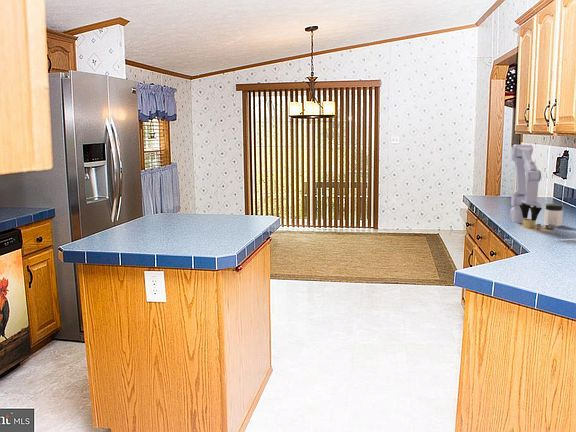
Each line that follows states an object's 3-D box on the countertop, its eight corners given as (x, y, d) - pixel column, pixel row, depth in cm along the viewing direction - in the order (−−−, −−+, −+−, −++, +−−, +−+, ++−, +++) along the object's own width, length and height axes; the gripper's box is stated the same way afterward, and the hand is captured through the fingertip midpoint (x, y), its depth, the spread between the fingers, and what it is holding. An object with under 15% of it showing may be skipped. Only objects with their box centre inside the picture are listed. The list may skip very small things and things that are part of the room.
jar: (542, 227, 289) (544, 205, 287) (543, 224, 296) (545, 203, 294) (561, 228, 285) (563, 206, 283) (561, 226, 292) (564, 204, 290)
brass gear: (521, 226, 285) (522, 219, 284) (530, 226, 286) (530, 218, 285) (527, 228, 280) (527, 220, 279) (535, 228, 281) (536, 220, 280)
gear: (542, 228, 279) (543, 222, 279) (551, 228, 280) (551, 222, 279) (548, 230, 274) (549, 224, 274) (557, 230, 275) (557, 224, 275)
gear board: (517, 227, 287) (518, 220, 287) (539, 226, 289) (540, 219, 289) (536, 233, 272) (536, 225, 271) (559, 232, 274) (560, 225, 273)
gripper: (516, 191, 286) (514, 217, 288) (533, 195, 272) (530, 221, 274) (528, 191, 287) (526, 216, 290) (545, 195, 273) (543, 221, 275)
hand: (529, 219), depth 282 cm, fingers open, 7 cm apart
